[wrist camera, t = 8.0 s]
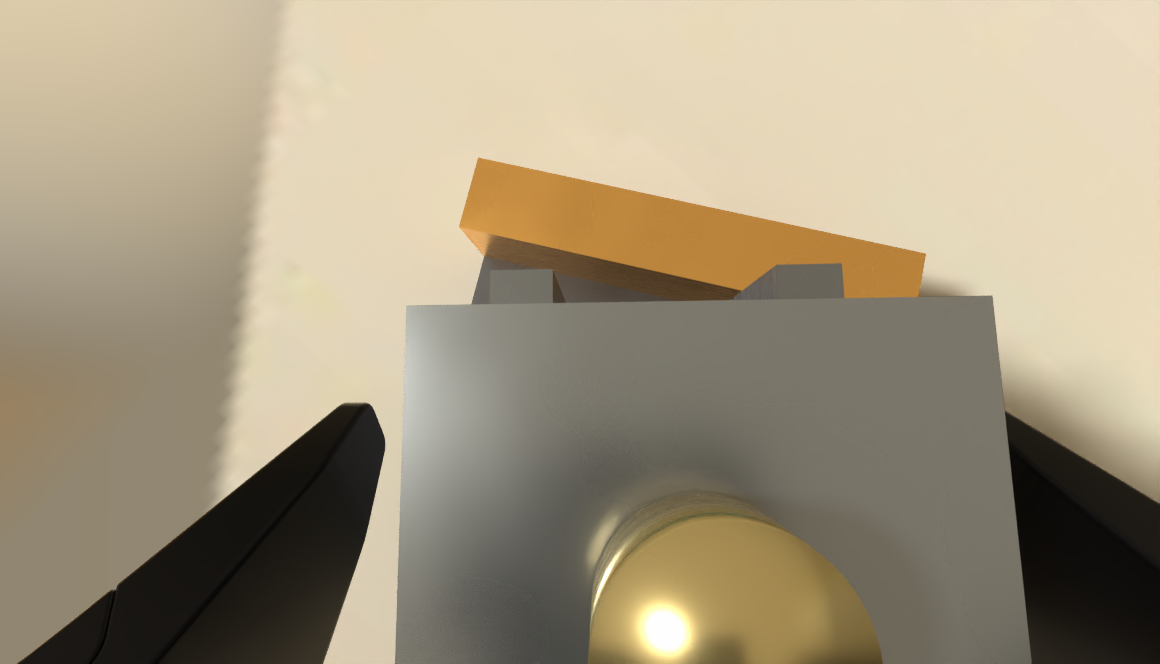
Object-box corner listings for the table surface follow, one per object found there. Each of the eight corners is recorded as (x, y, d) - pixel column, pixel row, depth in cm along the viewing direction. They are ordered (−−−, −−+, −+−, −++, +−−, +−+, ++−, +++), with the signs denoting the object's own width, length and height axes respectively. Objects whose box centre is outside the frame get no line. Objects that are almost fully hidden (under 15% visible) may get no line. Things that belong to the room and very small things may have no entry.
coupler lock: (715, 536, 16) (1229, 1182, 3) (548, 536, 16) (314, 1132, 3) (707, 343, 16) (1089, 149, 4) (548, 345, 17) (357, 171, 4)
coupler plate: (782, 659, 16) (840, 745, 12) (412, 558, 17) (353, 607, 13) (852, 286, 17) (925, 253, 13) (505, 209, 18) (478, 158, 14)
